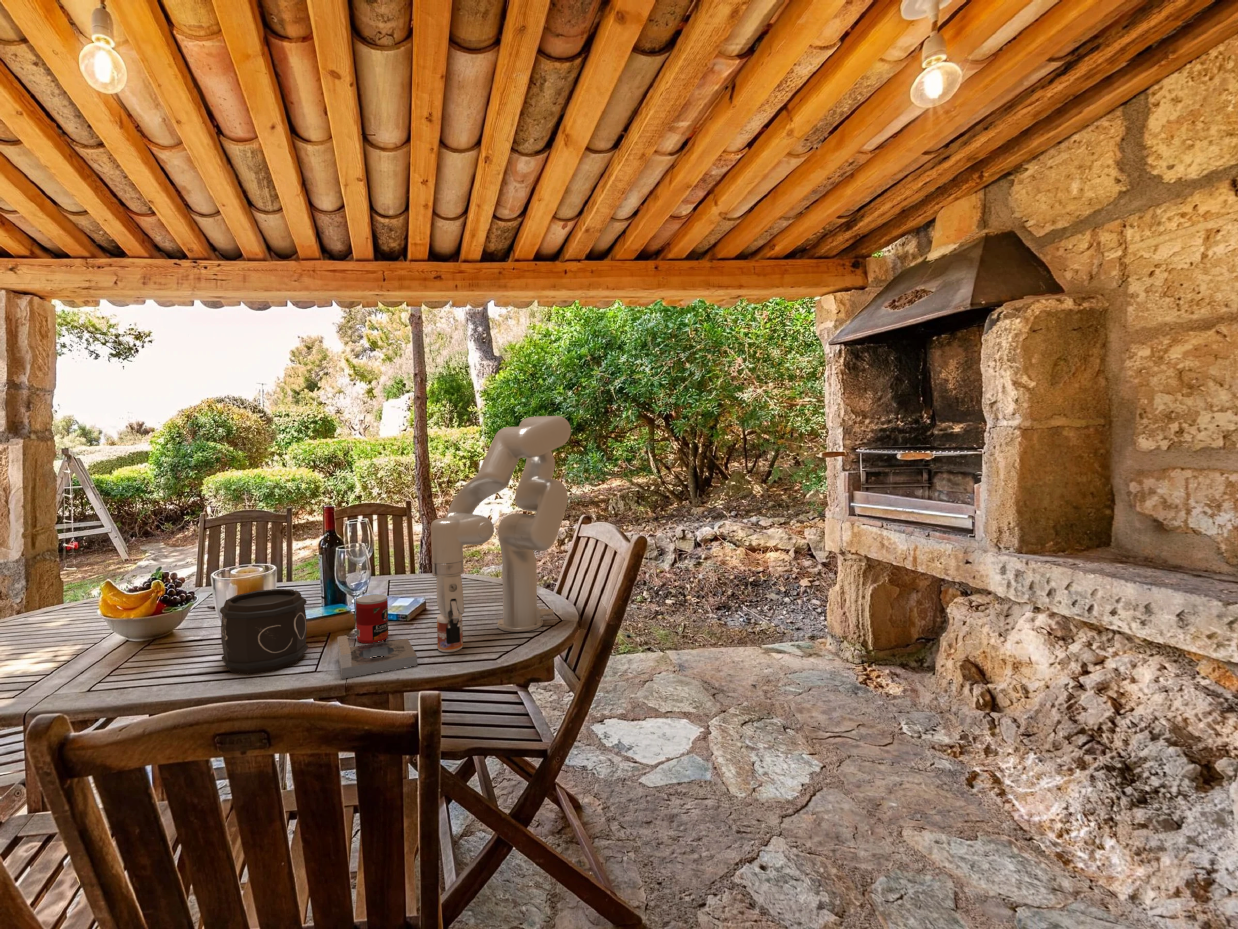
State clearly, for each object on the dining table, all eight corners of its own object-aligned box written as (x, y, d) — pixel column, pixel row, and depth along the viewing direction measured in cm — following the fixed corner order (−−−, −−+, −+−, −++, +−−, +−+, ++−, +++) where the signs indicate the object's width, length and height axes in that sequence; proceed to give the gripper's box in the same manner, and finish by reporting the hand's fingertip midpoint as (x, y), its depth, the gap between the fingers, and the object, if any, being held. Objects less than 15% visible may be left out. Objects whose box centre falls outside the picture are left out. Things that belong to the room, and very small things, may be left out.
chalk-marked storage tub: (325, 650, 153) (324, 588, 152) (271, 678, 136) (269, 608, 135) (264, 646, 157) (262, 585, 156) (203, 672, 139) (200, 604, 139)
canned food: (377, 644, 157) (376, 602, 157) (350, 643, 159) (349, 601, 158) (394, 635, 165) (393, 595, 164) (367, 633, 166) (366, 593, 166)
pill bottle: (432, 649, 153) (431, 605, 153) (453, 642, 158) (452, 600, 157) (447, 654, 149) (445, 610, 149) (468, 647, 154) (466, 604, 153)
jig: (407, 648, 154) (407, 626, 154) (417, 666, 142) (416, 643, 142) (338, 659, 147) (337, 636, 147) (341, 679, 135) (341, 654, 134)
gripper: (471, 573, 147) (473, 646, 148) (455, 560, 162) (457, 626, 163) (439, 577, 143) (442, 652, 144) (425, 563, 158) (428, 631, 159)
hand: (450, 638), depth 153 cm, fingers closed on pill bottle, 6 cm apart
